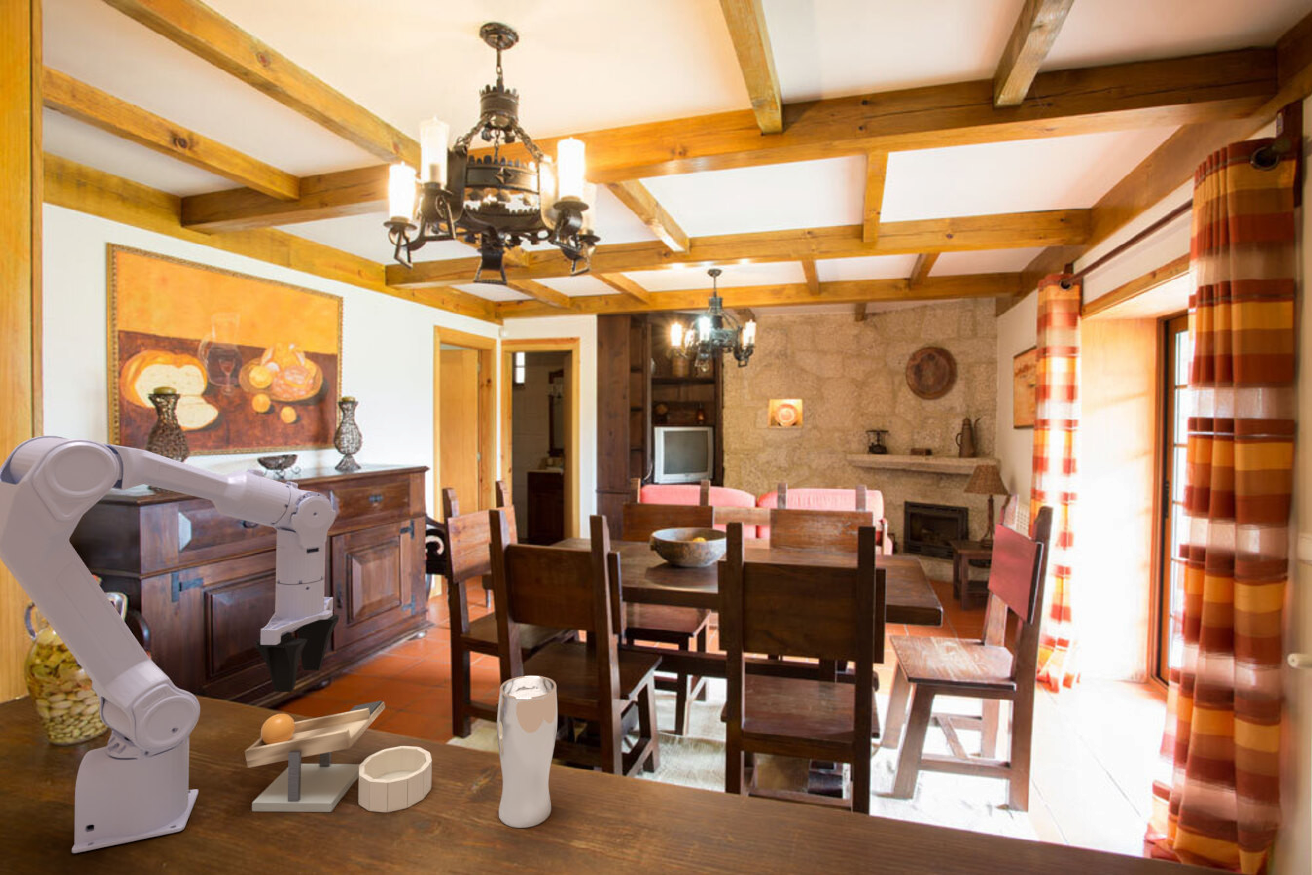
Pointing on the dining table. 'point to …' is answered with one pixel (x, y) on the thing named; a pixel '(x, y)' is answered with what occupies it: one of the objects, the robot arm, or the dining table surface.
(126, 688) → the robot arm
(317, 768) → the stand
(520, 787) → the beer glass
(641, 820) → the dining table surface
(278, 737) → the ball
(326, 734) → the tilting wooden tray
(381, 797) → the cup
